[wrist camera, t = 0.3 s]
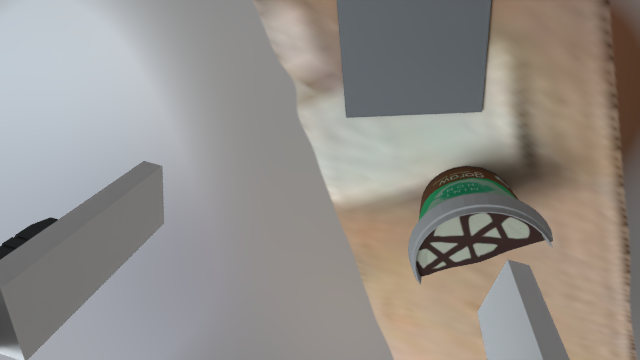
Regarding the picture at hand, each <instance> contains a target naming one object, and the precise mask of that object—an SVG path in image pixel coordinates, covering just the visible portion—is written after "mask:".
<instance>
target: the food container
mask: <svg viewBox="0 0 640 360" xmlns="http://www.w3.org/2000/svg"><path fill="white" fill-rule="evenodd" d="M543 240H546V241H547V242H548V244H549V245H550V246H551V247H552V245H551V243H550V242H552V241H553V237H552V232H551V229H550V227H549V225H548V224H547V222H546V221H545V220H544V218H543V217H542V216H541V215H540V214H539V213H538V212H537V211H535V210H534V209H533V208H532V207H530V206H529V205H527V204H525V203H523V202H522V201H519V200H518V198H517V197H516V196H515V194H514V193H513V192H512V191H511V189H510V188H509V187H508V185H507V184H506V183H505V182H504V181H503V180H502V179H501V178H499V177H498V176H497V175H496V174H495V173H492V172H490V171H488V170H485V169H483V168H479V167H470V166H463V167H456V168H452V169H449V170H447V171H445V172H442V173H441V174H439V175H438V176H436V177H435V178H434V179H433V180H432V181H431V182H430V183H429V184H428V186H427V187H426V189H425V191H424V193H423V196H422V200H421V208H420V216H419V222H418V223H417V224H416V226H415V228H414V229H413V231H412V234H411V237H410V240H409V246H408V253H409V260H410V263H411V267H412V270H413V273H414V275H415V277H416V279H417V281H418V282H419V284H420V285H421V277H422V276H425V275H430V274H432V273H434V272H437V271H441V270H444V269H448V268H452V267H457V266H463V265H468V264H473V263H478V262H481V261H484V260H487V259H489V258H492V257H494V256H497V255H499V254H501V253H504V252H507V251H509V250H512V249H516V248H519V247H523V246H526V245H529V244H533V243H536V242H540V241H543Z"/></svg>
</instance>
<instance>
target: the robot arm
mask: <svg viewBox="0 0 640 360" xmlns="http://www.w3.org/2000/svg"><path fill="white" fill-rule="evenodd" d="M162 175H163V173H162V166H160V165H157V164H153V163H149V162H146V161H143V162H142V163H140V164H139V165H138V166H136V167H134V168H133V169H132V170H130V171H129V172H127V173H126V174H125V175H123V176H121V177H120V178H119V179H117V180H116V181H114V182H113V183H111V184H110V185H108V186H107V187H105V188H104V189H102V190H101V191H100V192H98V193H97V194H95V195H94V196H92V197H91V198H89V199H88V200H86V201H85V202H84V203H82V204H81V205H79V206H78V207H77V208H75V209H73V210H72V211H70V212H69V213H68V214H66V215H65V216H63V217H62V218H60V219H59V220H58V219H55V218H48V219H45V220H43V221H40V222H37V223H35V224H32V225H30V226H29V227H27V228H25V229H24V230H22V231H21V232H19V233H18V234H16V235H15V237H14V238H13V237H12V238H10V239H9V240H7V241H6V242H4V243H2V246H0V354H3V355H6V356H9V357H12V358H15V359H18V360H28V359H29V358H30V357H31V356H32V355H33V354H34V353H35V352H36V351H37V350H38V349H39V348H40V346H42V345H43V344H44V343H45V342H46V341H47V340H48V339H49V338H50V337H51V336H52V335H53V334H54V333H55V332H56V331H57V330H58V329H59V328H60V327H61V326H62V325H63V324H64V323H65V322H66V321H67V320H68V319H69V318H70V317H71V316H72V315H73V314H74V313H75V312H76V311H77V310H78V309H79V308H80V307H81V306H82V305H83V304H84V303H85V302H86V301H87V300H88V299H89V298H90V297H91V296H92V295H93V294H94V293H95V292H96V291H97V290H98V289H99V288H100V287H101V286H102V285H103V284H104V283H105V282H106V281H107V280H108V279H109V278H110V277H111V276H112V275H113V274H114V273H115V272H116V271H117V270H118V269H119V268H120V267H121V266H122V265H123V264H124V263H125V262H126V261H127V260H128V259H129V258H130V257H131V256H132V255H133V254H134V253H135V252H136V251H137V250H138V249H139V248H140V247H141V246H142V245H143V244H144V243H145V242H146V241H147V240H148V239H149V238H150V237H151V236H152V235H153V234H154V233H155V232H156V231H157V230H158V229H159V228H160V227H161V226H162V225H163V224H164V210H163V209H164V206H163V176H162ZM477 313H478V318H479V323H480V328H481V332H482V337H483V342H484V347H485V351H486V356H487V360H570V359H569V357H568V355H567V352H566V350H565V348H564V345H563V343H562V341H561V338H560V336H559V334H558V331H557V329H556V327H555V324H554V322H553V319H552V317H551V315H550V312H549V310H548V308H547V305H546V303H545V301H544V298H543V296H542V294H541V291H540V289H539V287H538V284H537V282H536V280H535V277H534V275H533V273H532V270H531V268H530V266H529V265H526V264H522V263H519V262H515V261H511V260H508V259H507V261H506V263H505V265H504V266H503V268H502V270H501V272H500V274H499V275H498V277H497V279H496V281H495V282H494V284H493V286H492V288H491V289H490V291H489V293H488V295H487V296H486V298H485V300H484V302H483V303H482V305H481V307H480V309H479V311H478V312H477Z"/></svg>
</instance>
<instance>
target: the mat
mask: <svg viewBox="0 0 640 360" xmlns="http://www.w3.org/2000/svg"><path fill="white" fill-rule="evenodd" d="M337 8H338V20H339V33H340V45H341V58H342V71H343V83H344V96H345V108H346V118H349V117H373V116H396V115H420V114H444V113H467V112H482V103H483V91H484V80H485V68H486V56H487V44H488V32H489V20H490V8H491V0H337Z"/></svg>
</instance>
